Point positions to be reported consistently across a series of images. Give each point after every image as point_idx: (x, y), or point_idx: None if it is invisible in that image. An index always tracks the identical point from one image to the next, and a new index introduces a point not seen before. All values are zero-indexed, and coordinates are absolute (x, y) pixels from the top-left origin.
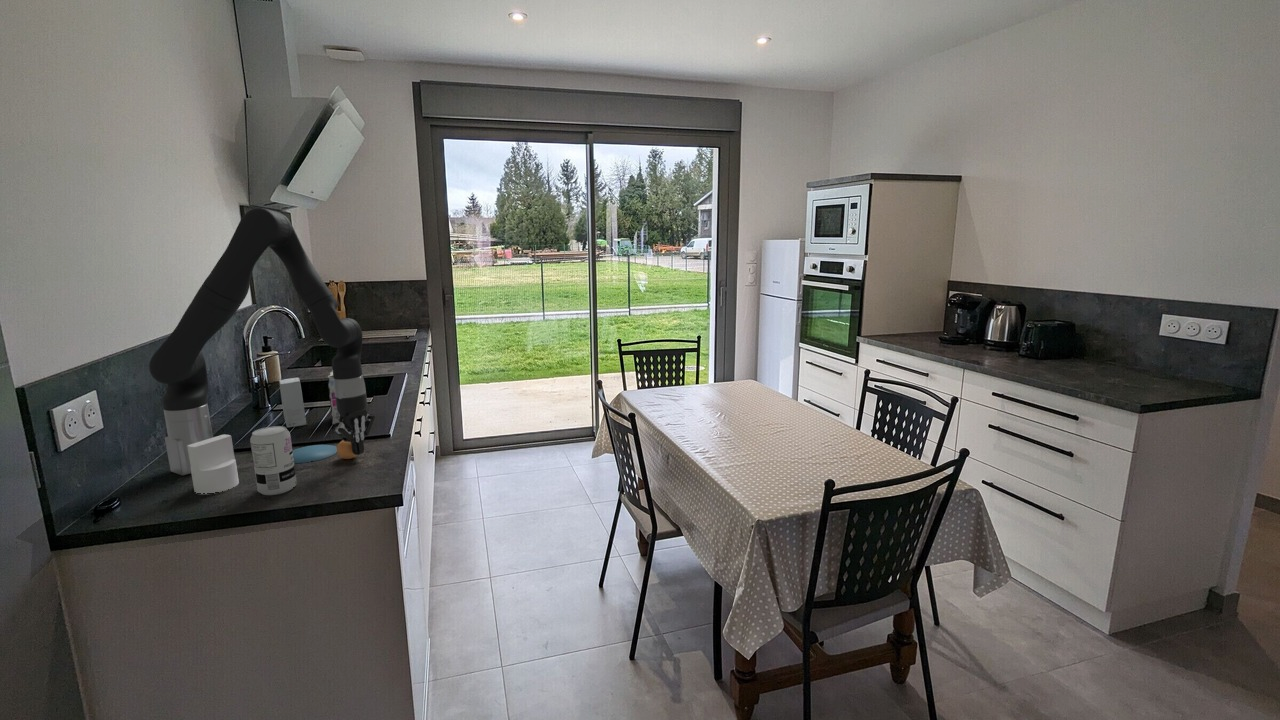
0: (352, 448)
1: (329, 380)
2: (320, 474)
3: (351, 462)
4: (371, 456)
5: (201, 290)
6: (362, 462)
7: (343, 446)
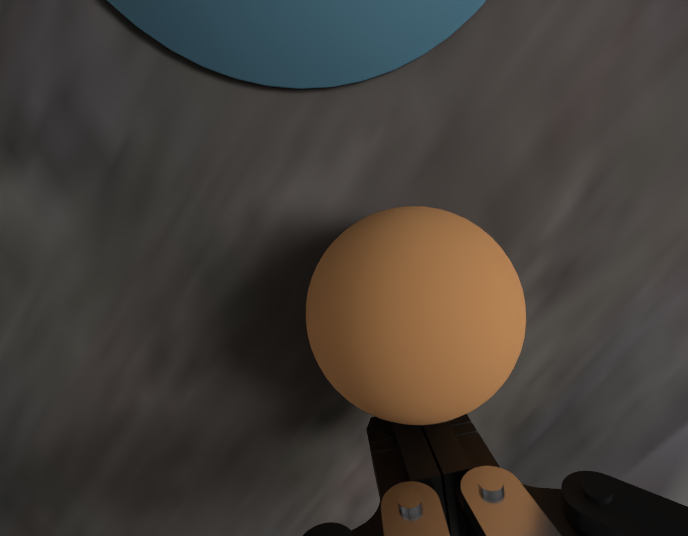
0: (372, 456)
1: None
2: (62, 391)
3: None
4: None
5: None
6: None
7: (338, 387)
